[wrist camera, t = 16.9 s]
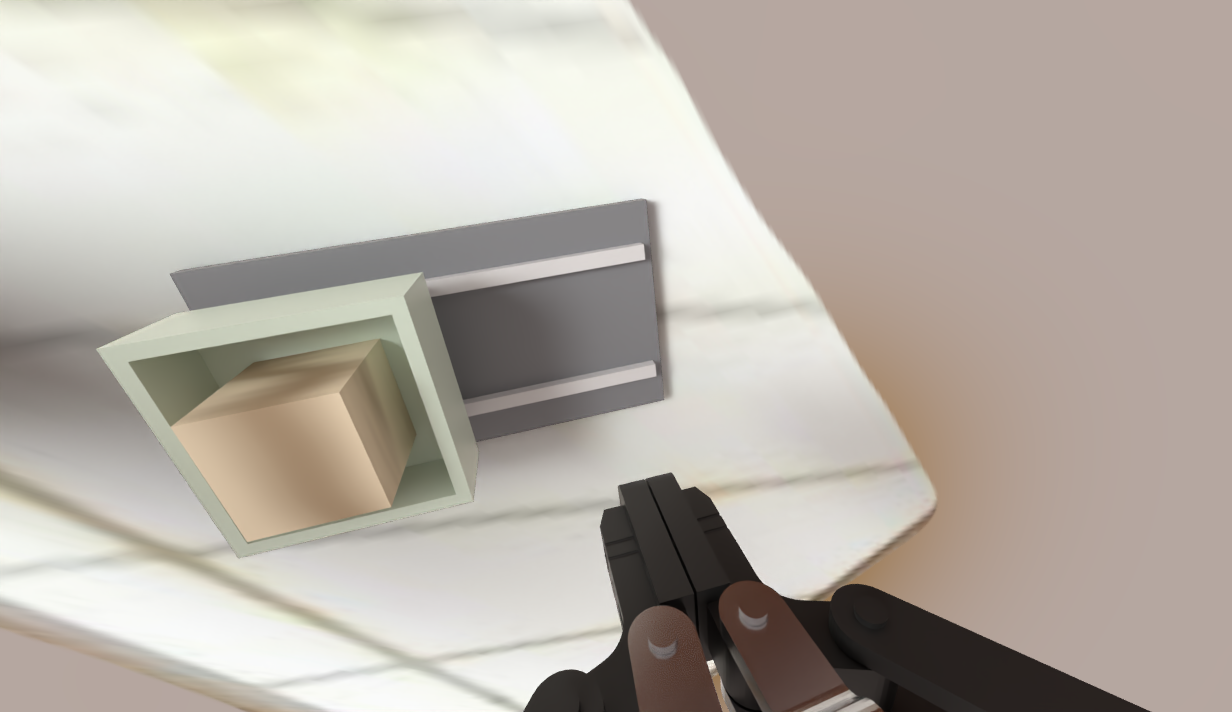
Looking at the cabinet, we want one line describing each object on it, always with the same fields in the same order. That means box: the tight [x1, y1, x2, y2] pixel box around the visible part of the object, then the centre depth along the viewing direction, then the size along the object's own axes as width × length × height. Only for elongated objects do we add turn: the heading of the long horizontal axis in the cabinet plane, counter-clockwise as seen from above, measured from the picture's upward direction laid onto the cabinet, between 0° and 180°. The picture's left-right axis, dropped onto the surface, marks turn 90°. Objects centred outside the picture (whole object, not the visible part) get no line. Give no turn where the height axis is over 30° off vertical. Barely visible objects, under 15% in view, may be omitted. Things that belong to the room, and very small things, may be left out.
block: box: [171, 338, 417, 542], centre depth 18 cm, size 5×5×5 cm
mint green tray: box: [96, 272, 479, 558], centre depth 20 cm, size 10×10×6 cm
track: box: [170, 199, 664, 442], centre depth 24 cm, size 22×12×1 cm, turn 97°
